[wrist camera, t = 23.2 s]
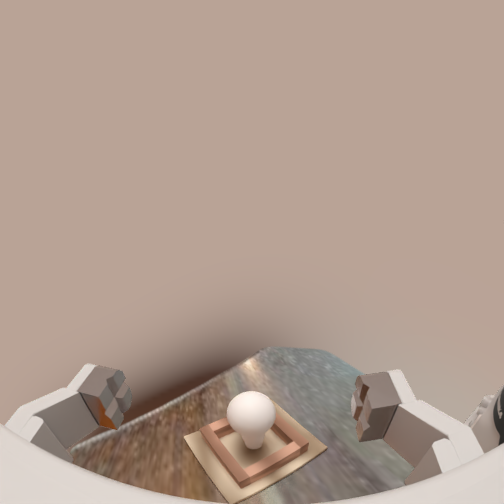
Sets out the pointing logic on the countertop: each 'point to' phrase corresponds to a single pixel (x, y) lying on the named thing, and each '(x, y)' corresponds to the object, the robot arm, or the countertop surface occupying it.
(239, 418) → the lightbulb
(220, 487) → the socket block
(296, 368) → the countertop surface
